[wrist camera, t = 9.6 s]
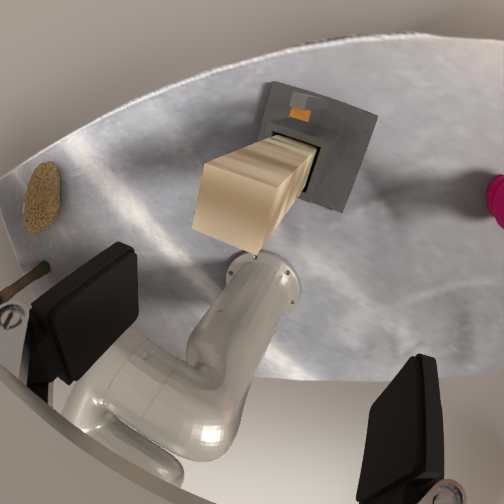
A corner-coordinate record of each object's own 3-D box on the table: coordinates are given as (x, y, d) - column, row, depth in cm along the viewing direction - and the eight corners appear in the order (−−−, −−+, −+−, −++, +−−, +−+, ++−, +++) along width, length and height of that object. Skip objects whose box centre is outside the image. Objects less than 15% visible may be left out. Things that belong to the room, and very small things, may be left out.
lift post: (312, 176, 34) (256, 256, 17) (278, 163, 35) (191, 229, 18) (324, 142, 32) (278, 187, 15) (288, 130, 33) (203, 162, 16)
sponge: (52, 231, 69) (74, 210, 57) (26, 240, 63) (41, 220, 51) (40, 184, 67) (60, 153, 55) (14, 191, 61) (28, 160, 49)
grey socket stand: (342, 209, 42) (328, 274, 27) (250, 174, 44) (187, 217, 29) (377, 115, 35) (390, 121, 20) (276, 81, 37) (218, 68, 22)
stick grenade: (48, 251, 71) (-35, 309, 46) (60, 279, 74) (-18, 341, 49) (35, 252, 74) (-42, 305, 49) (46, 278, 78) (-27, 334, 52)
